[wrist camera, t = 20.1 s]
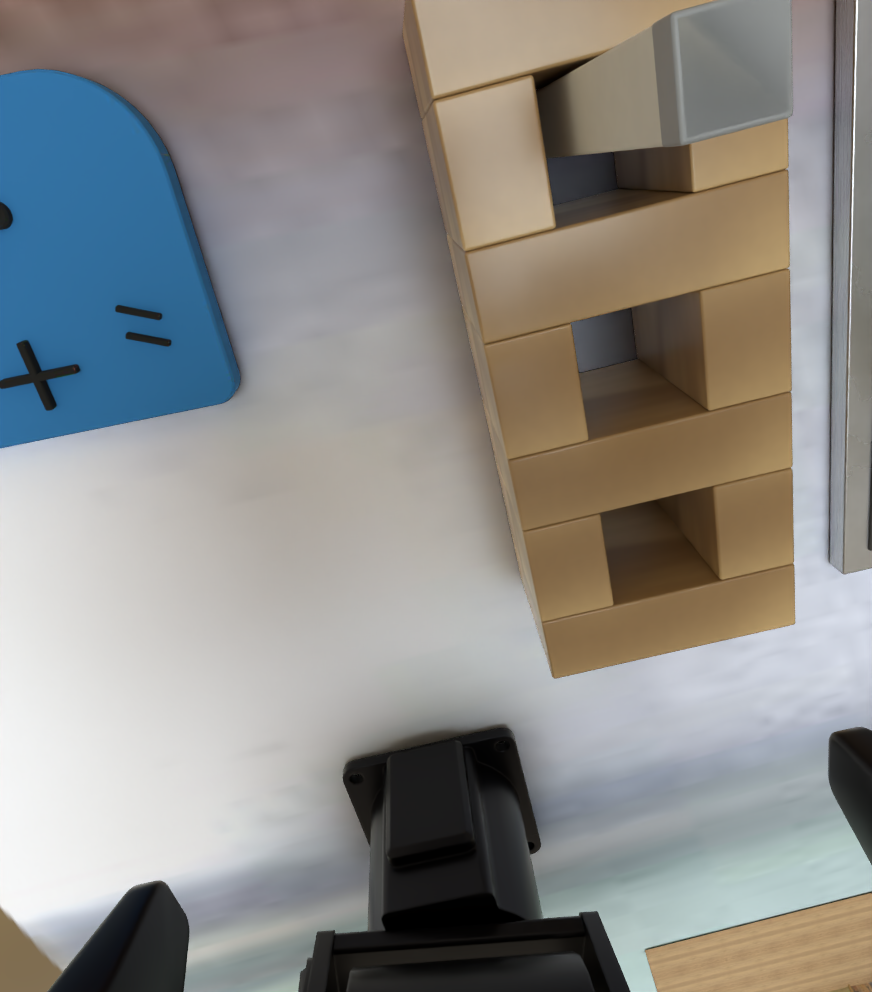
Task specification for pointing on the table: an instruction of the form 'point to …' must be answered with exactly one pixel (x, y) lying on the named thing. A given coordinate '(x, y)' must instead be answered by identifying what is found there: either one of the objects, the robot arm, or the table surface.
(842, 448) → the tablet
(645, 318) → the pen stand
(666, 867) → the table surface
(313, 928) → the table surface
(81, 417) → the handheld gaming device
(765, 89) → the grey square stick
